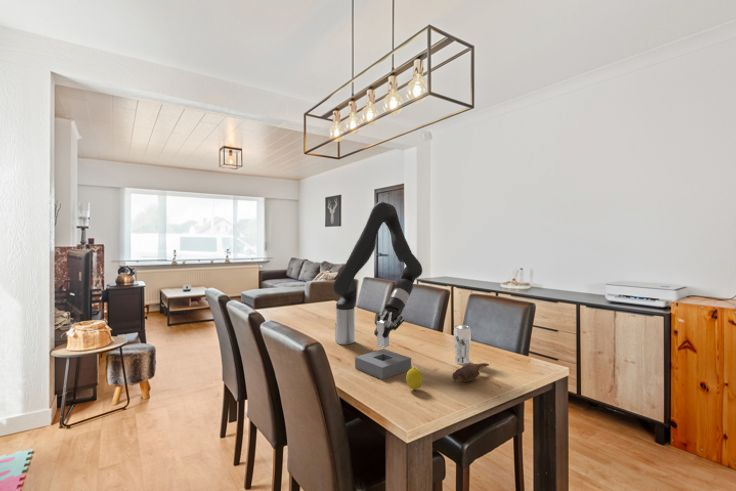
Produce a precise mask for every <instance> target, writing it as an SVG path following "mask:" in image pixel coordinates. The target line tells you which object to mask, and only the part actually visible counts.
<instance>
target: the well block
mask: <svg viewBox="0 0 736 491" xmlns="http://www.w3.org/2000/svg"><path fill="white" fill-rule="evenodd" d="M354 368H355V369H357V370H359V371H361V372H364V373H366V374H369V375H370V376H372V377H375V378H377V379H380V380H381V381H383V380H386V379H388V378H390V377H393V376H396V375H399V374H401V373H404V372H408V371H409V370H410V369H411V368H412V358H411V357H409V356H406V355H403V354H400V353H397V352H394V351H391V350H388V349H386V348H382V349H379V350H375V351H370V352H368V353H364V354H361V355H358V356H357V355H356V356H354Z"/></svg>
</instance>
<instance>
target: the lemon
mask: <svg viewBox="0 0 736 491" xmlns="http://www.w3.org/2000/svg"><path fill="white" fill-rule="evenodd" d="M406 372H407V373H406V376H405V377H406V380H405V381H406V385H407V386H408V387H409V388H410V389H412V390H413V391H416V390H417V389H419V388H420V387H422V384H423V374H422V372H421V370H420V369H418V368H417V367H415V366H413V367H411V369H410V370H408V371H406Z"/></svg>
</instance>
